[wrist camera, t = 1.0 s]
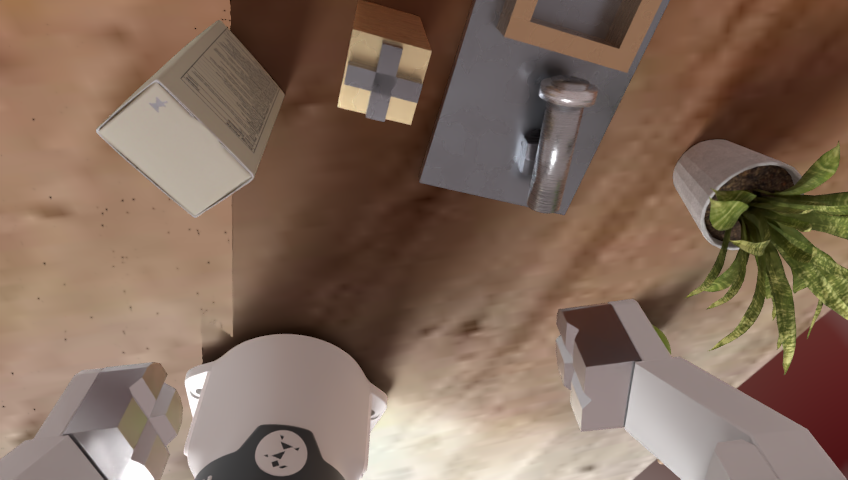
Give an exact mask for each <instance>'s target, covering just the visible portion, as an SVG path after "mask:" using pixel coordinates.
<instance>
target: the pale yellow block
mask: <svg viewBox="0 0 848 480" xmlns="http://www.w3.org/2000/svg"><path fill="white" fill-rule="evenodd" d="M431 52H432V50H431V48H430V45H429V42H428V39H427V36H426V33H425V30H424V28H423V25H422V22H421V19H420V17H419V16H416V15H412V14H409V13H406V12H402V11H399V10H395V9H392V8H389V7H385V6H382V5H378V4H375V3H371V2H368V1H365V0H358V4H357V9H356V14H355V19H354V24H353V29H352V34H351V38H350V43H349V48H348V53H347V58H346V63H345V69H344V74H343V79H342V85H341V90H340V95H339V100H338V106H337V107H339V108H343V109H347V110H351V111H355V112H360V113H364V114H366V117H365V118H370V119H374V120H378V121H382V122H385V119H388V120H392V121H396V122H400V123H404V124H408V125H411V123H412V119H413V116H414V112H415V109H416V105H417V103H418V100H419V96H420V93H421V89H422V85H423V80H424V77H425V73H426V70H427V66H428V63H429V59H430V56H431Z"/></svg>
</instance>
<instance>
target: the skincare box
mask: <svg viewBox="0 0 848 480" xmlns="http://www.w3.org/2000/svg"><path fill="white" fill-rule="evenodd" d="M284 97H285V95H284V93H283V91H282V90H281V89H280V88H279V86H278V85H277V84H276V83H275V81H274V80H273V79H272V78H271V77H270V75H269V74H268V73H267V72H266V71H265V70H264V68H263V67H262V66H261V65H260V64H259V63H258V61H257V60H256V59H255V58H254V57H253V56H252V55H251V53H250V52H249V51H248V50H247V49H246V48H245V47H244V46H243V44H242V43H241V42H240V41H239V40H238V39H237V38H236V37H235V36H234V34H233V33H232V32H231V31H230V30H229V29H228V28H227V27H226V26H225V25H224V24H223V22H222V21H220V20H218V21H216V22H215V23H214V24H212V25H211V26H210V27H208V28H207V29H206V30H204V31H203V32H202V33H201V34H199V35H198V36H197V37H196V38H194V39H193V40H192V41H191V42H190V43H188V44H187V45H186V46H185V47H184V48H183V49H182V50H180V51H179V52H178V53H177V54H176V55H175V56H174V57H173V58H172V59H170V60H169V61H168V62H167V63H166V64H165V65H164V66H163V67H162V68H161V69H160V70H159V71H157V72H156V73H155V74H154V75H153V76H152V77H151V78H150V79H149V80H148V81H147V82H145V83H144V84H143V85H142V86H141V87H140V88H139V89H138V90H137V91H136V92H135V93H133V94H132V95H131V96H130V97H129V98H128V99H127V100H126V101H125V102H124V103H123V104H122V105H121V106H120V107H119V108H118V109H116V110H115V111H114V112H113V113H112V114H111V115H110V116H109V117H108V118H107V119H106V120H105V121H104V122H103V123H102V124H101V125H100V126H99V127H98V128H97V129H96V132H97V133H98V135H99V136H100V137H102V138H103V139H104V140H105V141H106V142H107V143H108V144H109V145H110V146H111V147H112V148H113V149H114V150H115V151H116V152H117V153H119V154H120V155H121V156H122V157H123V158H124V159H125V160H126V161H127V162H128V163H130V164H131V165H132V166H133V167H134V168H135V169H137V170H138V171H139V172H140V173H141V174H142V175H143V176H145V177H146V178H147V179H148V180H149V181H151V182H152V183H153V184H154V185H155V186H156V187H158V188H159V189H160V190H161V191H162V192H164V193H165V194H166V195H167V196H168V197H169V198H171V199H172V200H173V201H174V202H176V203H177V204H178V205H179V206H180V207H182V208H183V209H184V210H185V211H187V212H188V213H189V214H190V215H191V216H193V217H198V216H200V215H201V214H203V213H204V212H206V211H207V210H209V209H210V208H212V207H214V206H215V205H217V204H218V203H220V202H221V201H223V200H224V199H226V198H227V197H229V196H230V195H232V194H233V193H235V192H236V191H238V190H239V189H241V188H242V187H243V186H245V185H246V184H248V183H249V182H251V181H252V180H253V179H254V177H255V174H256V172H257V169H258V166H259V164H260V161H261V158H262V155H263V153H264V150H265V147H266V145H267V142H268V139H269V137H270V134H271V131H272V129H273V126H274V123H275V121H276V118H277V115H278V113H279V110H280V107H281V105H282V102H283V99H284Z"/></svg>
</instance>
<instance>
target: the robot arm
mask: <svg viewBox="0 0 848 480" xmlns="http://www.w3.org/2000/svg"><path fill="white" fill-rule="evenodd" d="M556 324H557V327H558V329H559V332H560V334H561V335H560V336H559V337H558V338H557V339H556V357H557V365H558V369H559V372H560V376H561V379H562V382H563V385H564V386H565V387H567V388H568V389H569V390H571V399H570V404H571V407H572V409H573V412H574V415H575V417H576V420H577V423H578V425H579V428H580V431H581V432H582V431H592V430H602V429H612V428H622V427H625V430H626V431H627V432H628V433H629V434H630V435H631V436H633V437H634V438H635V439H636V440H637V441H638V442H639V443H641V444H642V445H643V446H644V447H645V448H646V449H647V450H648V451H650V452H651V453H652V454H653V455H654V456H655V457H656V458H658V459H659V460H660V461H661V462H662V463H663V464H665V465H666V466H667V467H668V468H669V469H670V470H671V471H672V472H673V473H675V474H676V475H677V476H678V477H679V478H680V479H681V480H847V479H846V478H845V477H844V475H843V474H842V473H841V472H840V470H839V469H838V468H837V467H836V465H835V464H834V463H833V461H832V460H831V459H830V458H829V456H828V455H827V454H826V452H825V451H824V450H823V449H822V447H821V446H820V445H819V444H818V442H817V441H816V440H815V438H814V437H813V436H812V435H811V433H810V432H809V431H808V429H806V428H804V427H802V426H801V425H799V424H797V423H795V422H794V421H792V420H790V419H788V418H787V417H785V416H783V415H781V414H780V413H777V412H776V411H774V410H773V409H771V408H769V407H767V406H765V405H764V404H762V403H760V402H759V401H757V400H755V399H753V398H752V397H750V396H748V395H746V394H744V393H743V392H741V391H739V390H737V389H736V388H734V387H732V386H731V385H729V384H727V383H725V382H724V381H722V380H720V379H718V378H717V377H715V376H713V375H711V374H710V373H708V372H706V371H704V370H703V369H701V368H699V367H697V366H696V365H694V364H692V363H690V362H689V361H687V360H685V359H683V358H682V357H672V356H671V355H670V353H669V351H668V350H667V348H666V347H665V345H664V343H663V342H662V340H661V339H660V337H659V336H658V334H657V332H656V331H655V329H654V328H653V326H652V324H651V323H650V321H649V320H648V318H647V316H646V315H645V313H644V312H643V310H642V308H641V307H640V305H639V304H638V302H637V301H636V300H634V299H628V300H621V301H614V302H608V303H601V304H594V305H587V306H579V307H572V308H565V309H559V310H558V313H557V323H556ZM166 377H167V373H166V371H165V370H164V368H163V367H162V365H161V364H160V363H155V362H151V363H142V364H133V365H123V366H114V367H106V368H100V369H90V370H82V371H80V372H79V373H77V374H76V375H74V377H73V378H72V380H71V381H70V383H69V384H68V386H67V388H66V389H65V391H64V392H63V394H62V395H61V397H60V398H59V400H58V402H57V403H56V405H55V406H54V408H53V409H52V411H51V412H50V414H49V416H48V417H47V419H46V420H45V422H44V423H43V425H42V426H41V428H40V430H39V431H38V433H37V434H36V436H35V437H34V439H33V440H27V441H24V442H23V443H21V444H20V445H19V446H17V447H16V448H15V449H13V450H12V451H11V452H9V453H8V454H7V455H5V456H4V457H3V458H1V459H0V480H160V479H161V477H162V474H163V472H164V469H165V466H166V464H167V461H168V458H169V456H170V454H169V451H168V449H167V447H166V445H167V444H168V443H170V442H171V441H172V440H173V439H174V438H175V437H176V436H177V435H178V432H179V429H180V426H181V423H182V412H183V407H182V402H181V398H180V396H179V394H178V392H177V390H176V389H175V388H173V387H171V386H169V385H168V384H166V383H164V382H165V379H166ZM185 387H186V391H187V396H188V400H189V404H190V408H191V412H192V417H193V420H192V423H191V426H190V430H189V433H188V436H187V440H186V443H185V447H184V455H186V456H187V457H188V464H189V467H190V469H191V471H192V473H193V475H194V477H195V480H361V479H362V477H363V473H365V472H366V470H367V465H368V453H369V439H370V432H371V431H372V429H373V428H374V426H375V425H376V424H377V422H378V421H379V419H380V418H381V416H382V415H383V413H384V412H385V410H386V409H387V403H388V397H387V395H386V394H385V393H384V392H383V391H382V390H380V389H379V388H377V387H376V386H375V385H373V384H371V383H370V382H369V381H368V379H367V378H366V376H365V374H364V373H363V371H362V369H361V368H360V366H359V365H358V363H357V362H356V361H355V360H354V359H353V358H352V357H351V356H350V355H349V354H347V353H346V352H345V351H343V350H342V349H340V348H338V347H337V346H335V345H333V344H331V343H328V342H326V341H323V340H320V339H317V338H313V337H309V336H303V335H295V334H274V335H266V336H261V337H257V338H254V339H250V340H248V341H245V342H243V343H241V344H239V345H237V346H235V347H234V348H232V349H231V350H229V351H228V352H227V353H225V354H224V355H223V356H222V357H220V358H219V359H217V360H215V361H213V362H209V363H205V364H202V365H199V366H196V367H193V368H191V369H190V370H189V371H188V372H187V375H186V379H185Z"/></svg>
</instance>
